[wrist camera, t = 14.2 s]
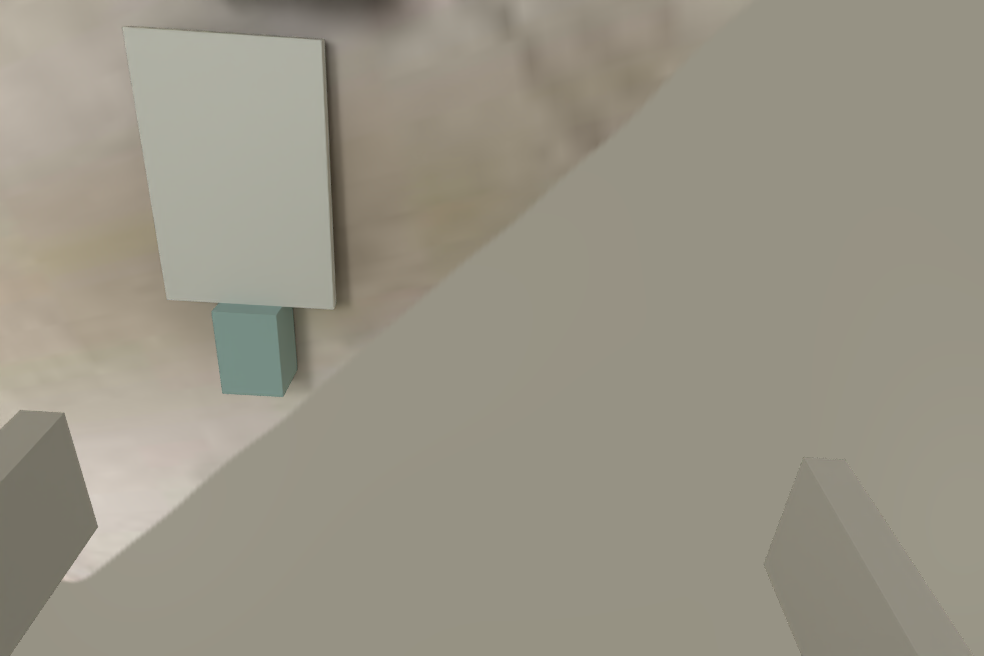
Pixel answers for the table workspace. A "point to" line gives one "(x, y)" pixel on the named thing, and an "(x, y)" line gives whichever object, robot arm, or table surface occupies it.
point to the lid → (239, 186)
